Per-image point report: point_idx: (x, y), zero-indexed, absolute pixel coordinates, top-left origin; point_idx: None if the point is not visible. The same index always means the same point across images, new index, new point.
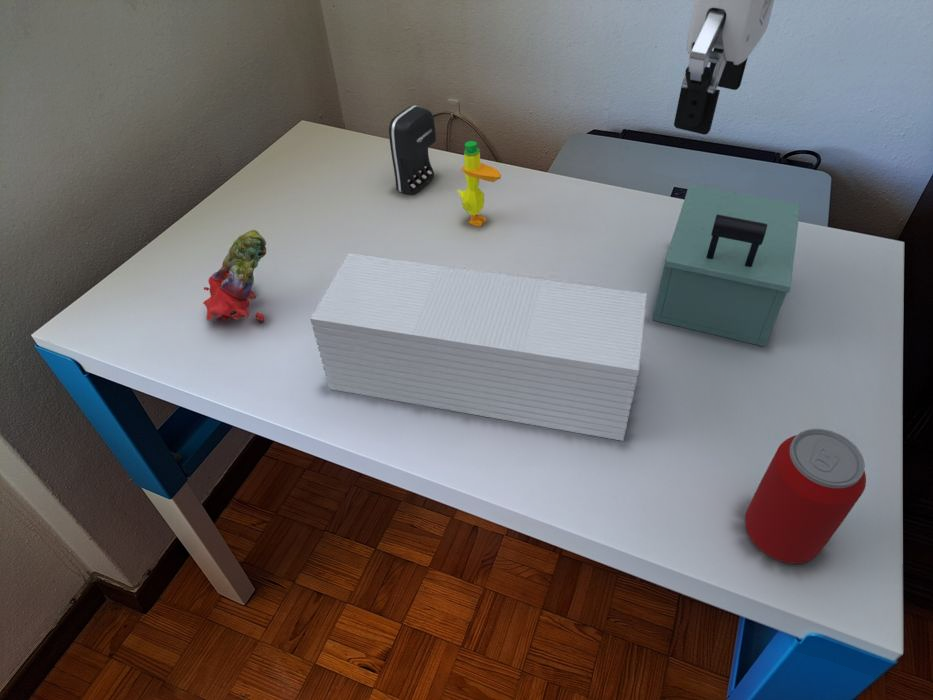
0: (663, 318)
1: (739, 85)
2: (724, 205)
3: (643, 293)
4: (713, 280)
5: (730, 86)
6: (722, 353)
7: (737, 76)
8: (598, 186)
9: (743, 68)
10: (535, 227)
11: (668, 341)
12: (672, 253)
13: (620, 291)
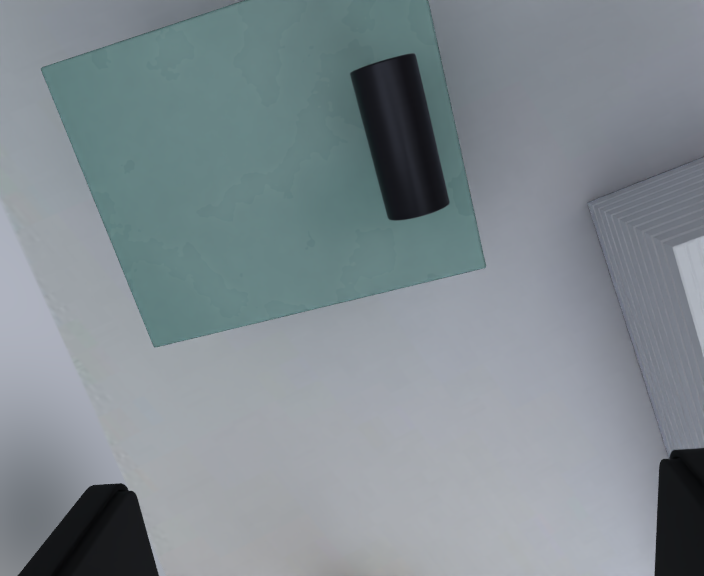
0: None
1: (108, 492)
2: (181, 239)
3: (679, 253)
4: None
5: (134, 522)
6: (459, 66)
7: (102, 549)
8: (134, 488)
9: (54, 570)
10: (325, 521)
11: (485, 173)
12: (450, 264)
13: (697, 302)
